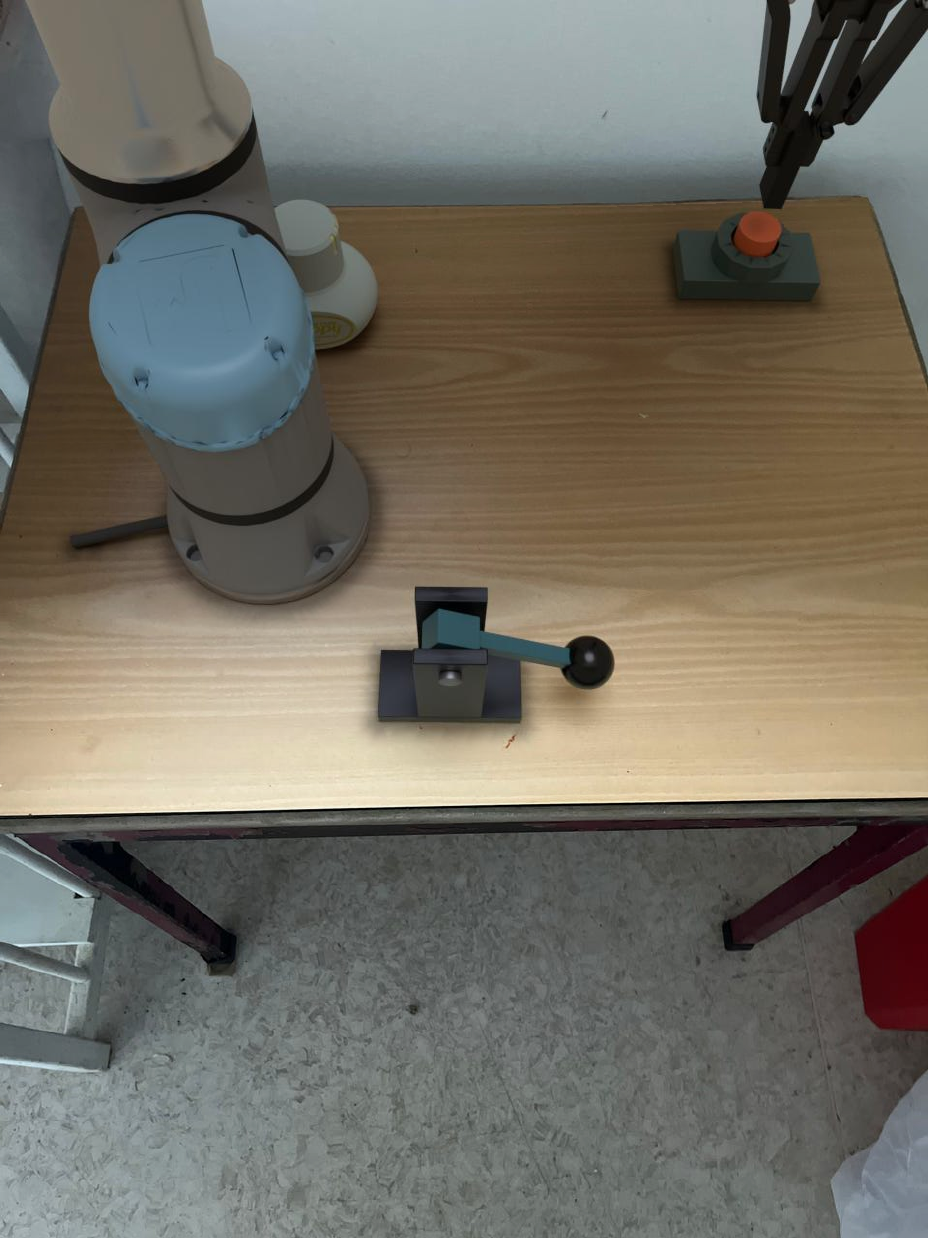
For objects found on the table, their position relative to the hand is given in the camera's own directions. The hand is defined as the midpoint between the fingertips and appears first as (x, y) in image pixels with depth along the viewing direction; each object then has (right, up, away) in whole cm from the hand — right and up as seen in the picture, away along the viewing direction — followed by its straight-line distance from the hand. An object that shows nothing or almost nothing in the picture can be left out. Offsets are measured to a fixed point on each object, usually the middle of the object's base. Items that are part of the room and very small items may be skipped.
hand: (770, 196), depth 69 cm
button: (0, -2, +4) cm, 5 cm away
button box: (0, -3, +8) cm, 8 cm away
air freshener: (-38, -8, +5) cm, 39 cm away
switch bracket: (-26, -40, -9) cm, 48 cm away
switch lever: (-22, -37, -14) cm, 46 cm away
